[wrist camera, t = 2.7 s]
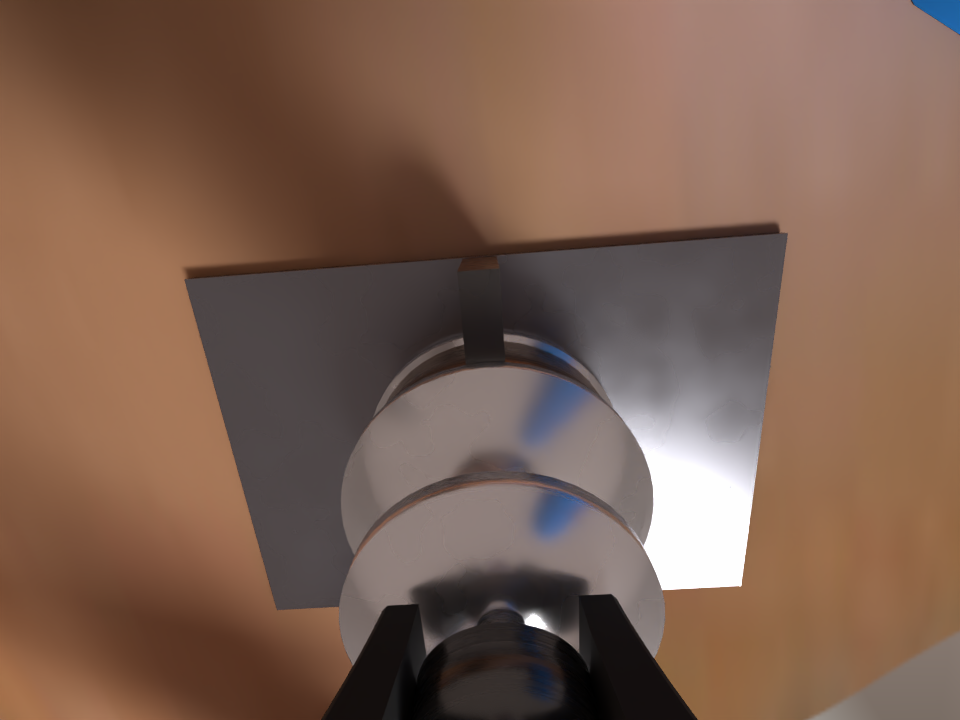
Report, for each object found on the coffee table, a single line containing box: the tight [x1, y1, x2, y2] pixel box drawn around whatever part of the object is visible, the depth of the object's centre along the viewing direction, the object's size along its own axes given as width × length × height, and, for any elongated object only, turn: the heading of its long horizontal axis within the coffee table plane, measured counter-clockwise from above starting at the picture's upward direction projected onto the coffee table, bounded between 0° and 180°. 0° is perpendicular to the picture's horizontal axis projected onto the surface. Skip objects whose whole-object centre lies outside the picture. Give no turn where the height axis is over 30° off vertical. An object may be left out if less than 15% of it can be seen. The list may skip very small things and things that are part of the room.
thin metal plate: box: [185, 233, 788, 610], centre depth 14 cm, size 13×18×4 cm
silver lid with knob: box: [339, 471, 665, 720], centre depth 8 cm, size 6×6×3 cm
